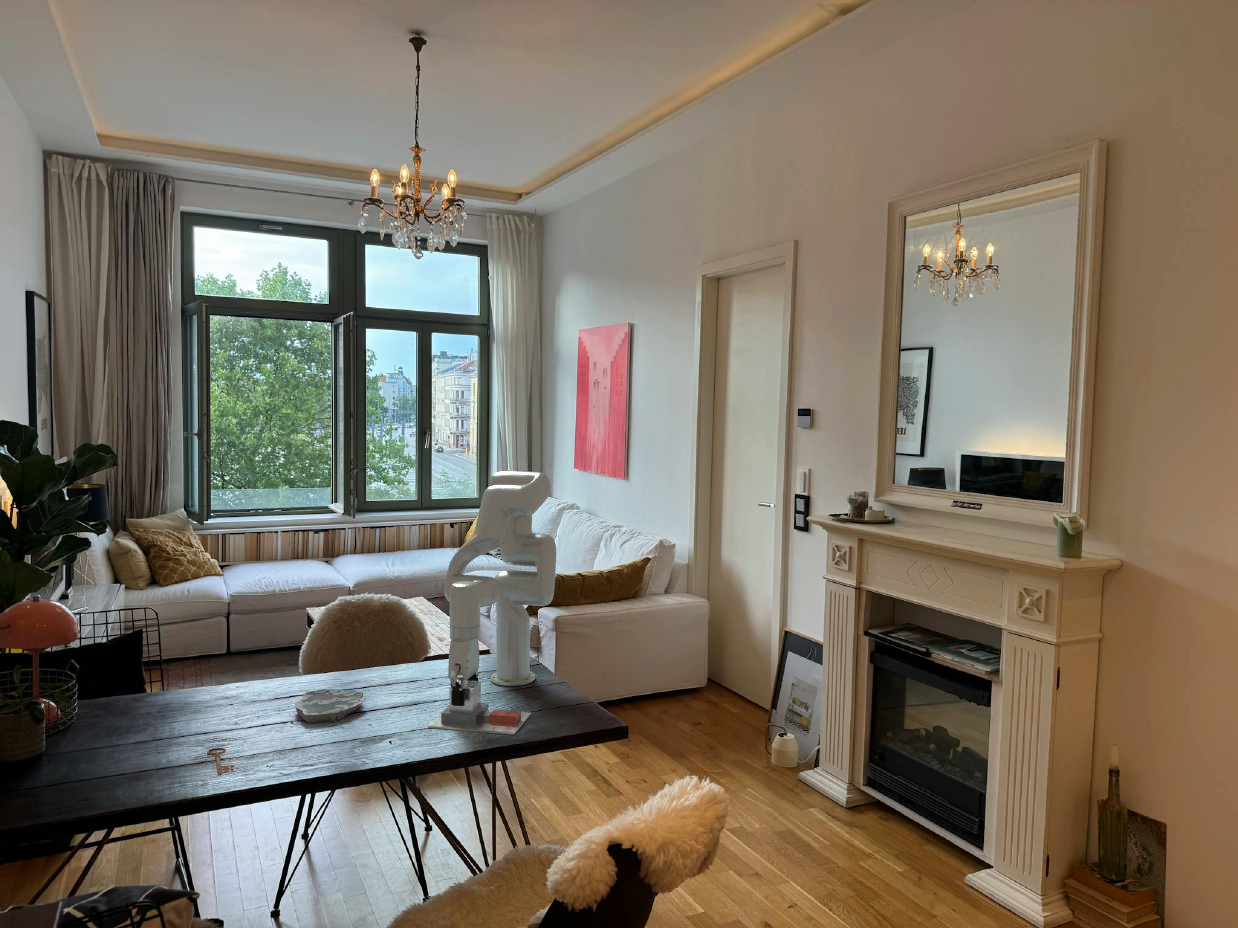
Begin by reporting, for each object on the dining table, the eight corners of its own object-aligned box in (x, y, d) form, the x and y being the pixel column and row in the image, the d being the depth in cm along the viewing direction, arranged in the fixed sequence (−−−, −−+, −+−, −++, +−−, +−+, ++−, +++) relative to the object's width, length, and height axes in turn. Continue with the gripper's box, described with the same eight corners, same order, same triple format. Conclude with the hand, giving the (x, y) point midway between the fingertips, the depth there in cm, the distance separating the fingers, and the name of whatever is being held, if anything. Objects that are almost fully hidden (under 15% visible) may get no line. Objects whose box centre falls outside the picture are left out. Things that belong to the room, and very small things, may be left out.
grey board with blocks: (449, 707, 226) (449, 681, 226) (530, 714, 222) (530, 687, 222) (427, 727, 212) (427, 699, 212) (514, 734, 208) (514, 706, 208)
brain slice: (368, 720, 218) (368, 708, 217) (296, 729, 211) (296, 717, 211) (361, 695, 236) (361, 684, 236) (294, 703, 230) (294, 692, 229)
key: (239, 774, 186) (234, 749, 200) (239, 770, 186) (235, 745, 200) (209, 777, 184) (206, 751, 197) (209, 773, 184) (207, 747, 197)
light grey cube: (458, 702, 221) (458, 679, 221) (480, 704, 220) (480, 681, 220) (449, 710, 215) (449, 687, 215) (472, 712, 214) (472, 688, 214)
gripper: (463, 622, 226) (463, 686, 227) (437, 639, 209) (437, 709, 210) (490, 623, 224) (490, 688, 225) (466, 641, 207) (467, 711, 208)
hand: (465, 698), depth 218 cm, fingers open, 9 cm apart
